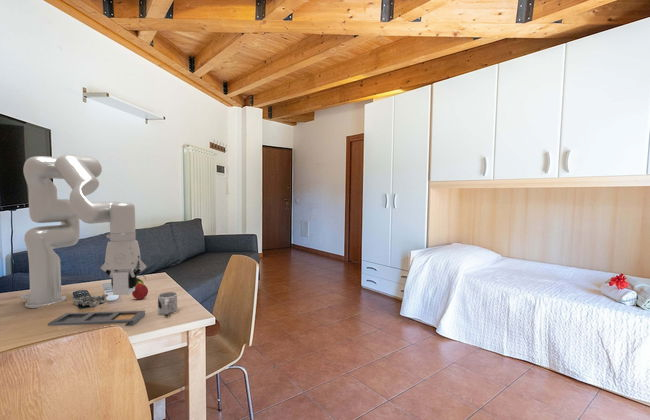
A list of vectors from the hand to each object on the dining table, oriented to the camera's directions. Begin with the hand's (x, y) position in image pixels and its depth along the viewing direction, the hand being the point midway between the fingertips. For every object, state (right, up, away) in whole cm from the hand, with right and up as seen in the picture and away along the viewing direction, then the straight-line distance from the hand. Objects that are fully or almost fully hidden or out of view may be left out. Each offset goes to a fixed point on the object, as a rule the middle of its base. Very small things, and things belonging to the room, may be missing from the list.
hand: (124, 287), depth 112 cm
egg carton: (-23, -11, +15) cm, 30 cm away
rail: (-9, -12, 0) cm, 15 cm away
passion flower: (-21, -10, +36) cm, 43 cm away
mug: (+11, -12, +9) cm, 19 cm away
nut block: (0, -2, 0) cm, 2 cm away
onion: (-7, -11, +21) cm, 25 cm away
